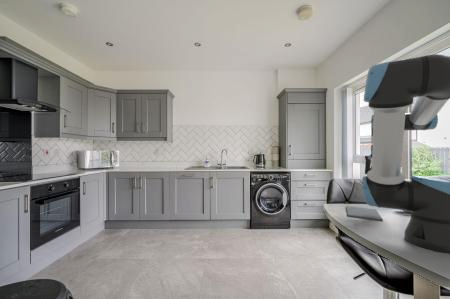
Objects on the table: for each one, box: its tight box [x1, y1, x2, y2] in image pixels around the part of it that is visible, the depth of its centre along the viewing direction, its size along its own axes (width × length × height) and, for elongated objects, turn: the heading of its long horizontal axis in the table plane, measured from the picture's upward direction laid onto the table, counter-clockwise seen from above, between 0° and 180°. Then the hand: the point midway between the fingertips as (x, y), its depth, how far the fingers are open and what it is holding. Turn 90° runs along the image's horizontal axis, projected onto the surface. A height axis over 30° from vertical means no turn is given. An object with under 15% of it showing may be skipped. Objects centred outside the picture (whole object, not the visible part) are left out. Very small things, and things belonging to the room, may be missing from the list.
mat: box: [345, 205, 384, 222], centre depth 111 cm, size 20×14×1 cm
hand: (379, 189), depth 108 cm, fingers closed on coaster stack, 6 cm apart
